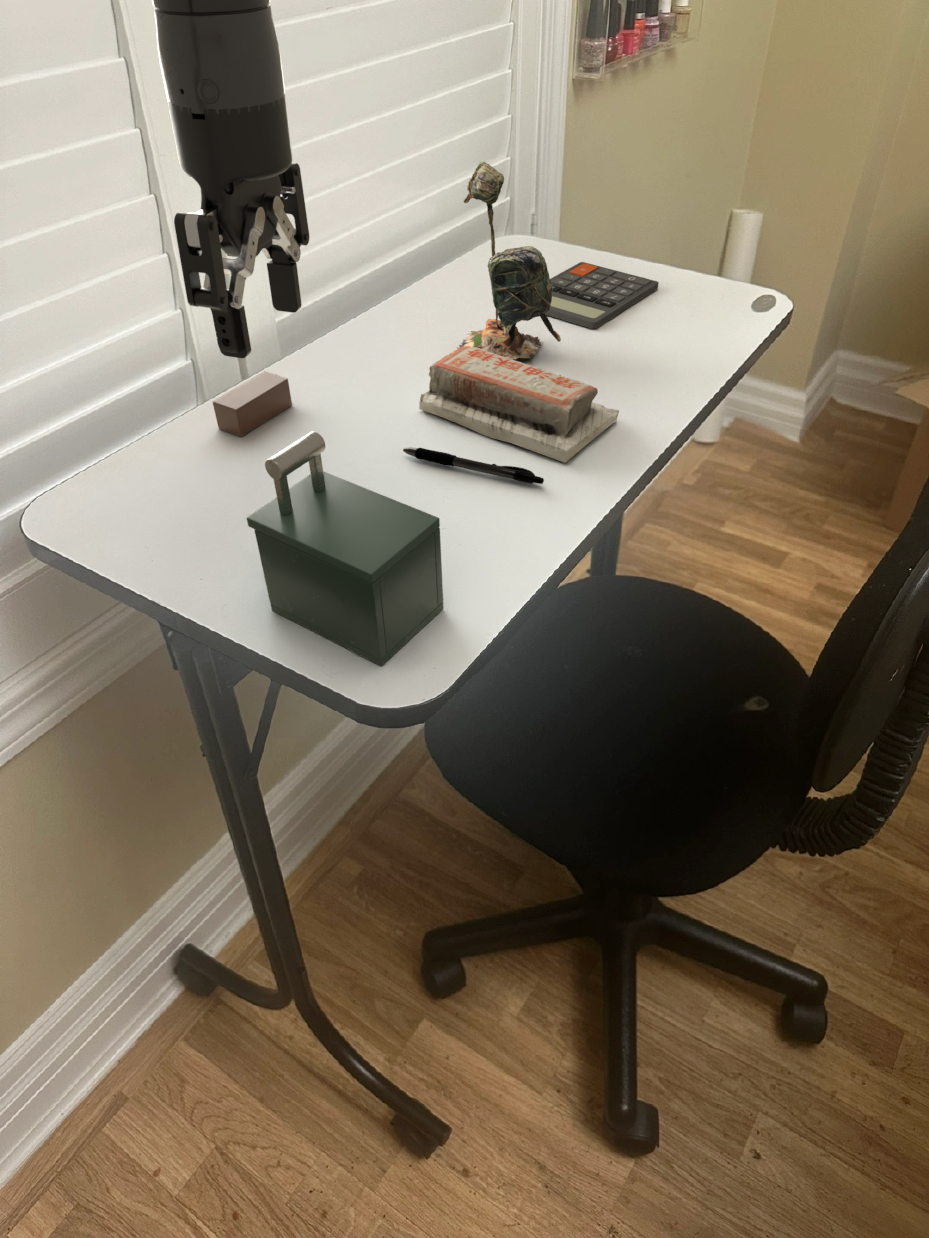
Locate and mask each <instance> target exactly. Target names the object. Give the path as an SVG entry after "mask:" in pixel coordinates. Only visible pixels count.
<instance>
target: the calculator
mask: <svg viewBox="0 0 929 1238" xmlns="http://www.w3.org/2000/svg"><path fill="white" fill-rule="evenodd" d="M550 280H551V284H552V289H553V293H552V301H551V306H550V309H549V311H547V312H546V313H545V315H546V316H547V317H548V316H549V317H552V318H556V319H558V320H562V321H565V322H568V323H571V324H575V325H579V326H582V327H585V328H589V329H592V330H595V329H597V328H599V327H600V326H602V325H603V324H605V323H606V322H608V321H609V320H611V319H613V318H614V317H616V316H617V315H619V314H621V313H622V312H624V311H625V310H627V309H628V308H630V307H632V306H633V305H635V304H637V303H638V302H640V301H641V300H643V299H644V298H646V297H647V296H649V295H650V294H652V293H654V292H656V291H657V290H658V289H659V281H658V280H654V279H650V278H645V277H641V276H638V275H634V274H630V273H628V272H627V273H626V272H623V271H619V270H615V269H612V268H609V267H604V266H600V265H596V264H592V263H588V262H584V261H580V262H578V263H577V264H574V265H573V266H571V267H569V268H567V269H565V270H563V271H561V272H560V273H558V274H556V275H555V276H553V277H550Z"/></svg>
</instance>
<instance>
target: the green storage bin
mask: <svg viewBox="0 0 929 1238" xmlns="http://www.w3.org/2000/svg"><path fill="white" fill-rule="evenodd" d="M254 535H255V540H256V545H257V549H258V554H259V558H260V562H261V566H262V567H261V568H262V572H263V577H264V581H265V586H266V590H267V595H268V601H269V603H270V608H271V611H272V612H274V613H276V614H277V615H280V616H282V617H283V618H285V619H287V620H288V621H289V620H290V621H292V622H293V623H295V624H297V625H299V626H301V627H303V628H305V629H307V630H308V631H311V632H312V633H315V634H317V635H318V636H321V637H323V638H325V639H327V640H329V641H331V642H332V643H334V644H336V645H338V646H340V647H342V648H345V649H346V650H348V651H350V652H352V653H354V654H356V655H358V656H359V657H362V658H364V659H365V660H368V661H370V662H372V663H374V664H376V665H378V666H380V667H383V666H384V665H385V664H386V663H387V662H388V661H390V659H391V658H393V656H394V655H396V654H397V653H398V652H399V651H400V650H401V649H402V648H403V647H404V646H405V645H407V644H408V643H409V642H410V641H411V640H412V639H413V638H415V636H416V635H417V634H418V633H419V632H420V631H421V630H423V629H424V628H425V626H427V625H428V624H429V623H430V622H431V621H432V620H433V619H435V617H436V616H437V615H439V613H441V612H442V611H443V610H444V592H443V591H444V589H443V588H444V586H443V567H442V566H443V565H442V563H443V562H442V549H441V548H442V543H441V542H442V541H441V528H440V527H439V528H438V529H436V530H435V531H434V532H433V533H432V534H431V535H429V536H428V537H427V538H426V539H425V540H423V541H422V542H421V543H420V544H419V545H417V546H416V547H415V548H414V549H413V550H411V551H410V552H409V553H408V554H407V555H405V556H404V557H403V558H402V559H401V560H399V561H398V562H397V563H396V564H395V565H393V566H392V567H391V568H390V569H389V570H387V571H386V572H385V573H384V574H383V575H381V576H380V577H379V578H378V579H377V580H376V581H374V582H373V583H370V582H368V581H366V580H364V579H362V578H359V577H357V576H355V575H353V574H351V573H349V572H346V571H344V570H342V569H340V568H338V567H336V566H333V565H331V564H329V563H327V562H325V561H323V560H320V559H318V558H316V557H314V556H312V555H310V554H307V553H305V552H303V551H301V550H299V549H297V548H294V547H292V546H290V545H288V544H286V543H284V542H281V541H279V540H277V539H275V538H273V537H270V536H268V535H266V534H264V533H262V532H260V531H257V530H255V529H254Z"/></svg>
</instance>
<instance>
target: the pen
mask: <svg viewBox="0 0 929 1238" xmlns="http://www.w3.org/2000/svg"><path fill="white" fill-rule="evenodd" d="M402 451H403V453H405V454H406V455H408V456H410V457H414V458H416V459H418V460H421V461H426V462H429V463H433V464H438V465H441V466H445V467H446V466H447V467H451V468H454V467H456V468H460V469H465V470H469V471H474V472H478V473H482V474H487V475H491V476H496V477H500V478H503V479H504V478H505V479H509V480H513V481H516V482H519V483H524V484H530V485H532V484H538V485H543V484H544V482H545V479H544V478H543V477H541V476H537V475H536V474H535V473H534V472H533V471H532V470H530V469H527V468H524V467H520V466H513V465H497V464H496V463H492V464H491V463H487V462H482V461H477V460H473V459H469V458H464V457H460V456H457V455H455V454H454V455H453V454H451V453H447V452H443V451H437V450H432V449H429V448H423V447H411V446H410V447H404V448H402Z"/></svg>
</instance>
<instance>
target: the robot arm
mask: <svg viewBox="0 0 929 1238" xmlns="http://www.w3.org/2000/svg"><path fill="white" fill-rule="evenodd" d="M151 2H152V6H153V8H154V9H153V12H154V20H155V29H156V44H157V53H158V60H159V66H160V70H161V75H162V80H163V85H164V91H165V97H166V101H167V108H168V111H169V117H170V123H171V126H172V132H173V138H174V144H175V147H176V153H177V154H176V155H177V159H178V163H179V167H180V169H181V171H182V172H183V173H184V174H185V175H186V176H188V177H189V178H192V179H193V180H194V181H195V182H196V183H197V185H198V186H199V189H200V206H199V207H200V209H199V210H198V211H195V212H181V211H179V212H177V213H176V214H175V215H174V219H173V225H174V229H175V237H176V243H177V248H178V254H179V259H180V266H181V271H182V277H183V282H184V288H185V289H184V290H185V294H186V300H187V303H188V305H189V306H190V307H197V308H199V307H200V308H207V309H210V311H211V315H212V321H213V326H214V331H215V336H216V341H217V346H218V348H219V352H220V353H221V354H222V355H223V356H225V357H230V358H236V359H245V358H246V357H248V356H249V355H250V354H251V352H252V345H251V339H250V333H249V327H248V321H247V316H246V310H245V305H243V299H244V292H245V287H246V286H245V285H246V281H247V278H250V277H251V276H253V273H254V271H255V264H256V258H257V257H258V256H259V255H260V253H261V251H262V253H263V255H264V256H265V257H266V258H267V259H268V260H269V261H268V262H266V269H267V275H268V282H269V290H270V296H271V303H272V306H273V309H275V311H278V312H285V313H292V314H295V313H296V312H298V311H299V310H300V309H302V305H303V304H302V298H301V290H300V281H299V272H298V266H297V265H298V264H297V263H298V262H299V261H300V260H301V259H300V258H301V254H302V253H301V246H305V247H306V246H308V245H309V242H310V229H309V223H308V214H307V209H306V201H305V193H304V186H303V179H302V171H301V167H300V165H299V163H297V162H293V149H292V141H291V131H290V124H289V115H288V106H287V99H286V98H287V97H286V89H285V83H284V82H285V81H284V73H283V64H282V55H281V50H280V49H281V48H280V44H279V39H278V35H277V30H276V27H275V26H276V25H275V23H274V19H273V13H272V6H271V4H270V3H271V0H151ZM288 215H291V216H292V217H293V219H294V225H295V227H294V225H293V223H292V222H291V220H290V218H289V217H288ZM222 252H223V253H224V254H226V255H227V257H233V258H226V257H223V253H222ZM200 273H201V274H205V275H204V281H203V287H202V284H201V275H200ZM226 275H230V280H229V285H228V288H227V282H226Z"/></svg>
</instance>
